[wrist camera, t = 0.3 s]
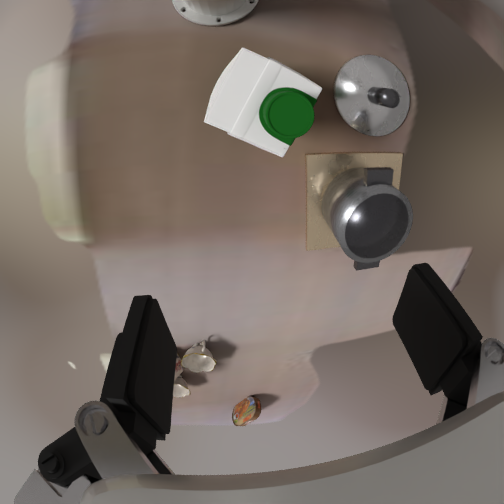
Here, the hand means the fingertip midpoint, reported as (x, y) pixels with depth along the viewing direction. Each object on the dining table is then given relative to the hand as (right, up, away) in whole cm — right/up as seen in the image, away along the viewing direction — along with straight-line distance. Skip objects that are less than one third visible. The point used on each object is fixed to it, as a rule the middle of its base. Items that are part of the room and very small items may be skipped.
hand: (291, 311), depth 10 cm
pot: (+17, +11, +37) cm, 42 cm away
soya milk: (-2, +25, +26) cm, 36 cm away
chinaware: (-22, -26, +59) cm, 69 cm away
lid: (+18, +27, +27) cm, 42 cm away
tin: (-4, -49, +76) cm, 91 cm away
